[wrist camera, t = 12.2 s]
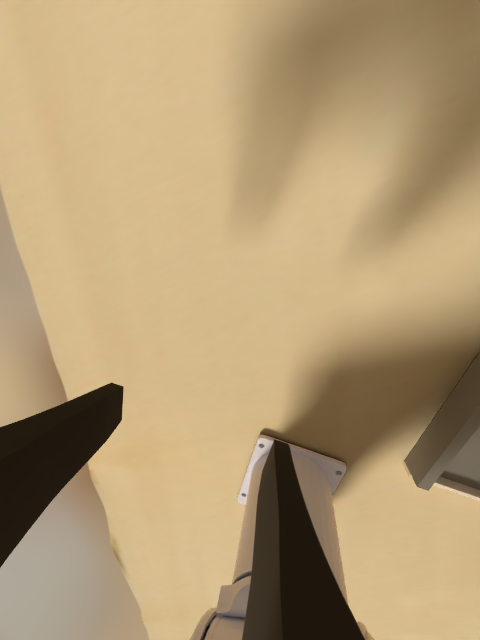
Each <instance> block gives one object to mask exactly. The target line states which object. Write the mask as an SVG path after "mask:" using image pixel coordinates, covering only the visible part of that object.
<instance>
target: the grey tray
mask: <svg viewBox="0 0 480 640" xmlns="http://www.w3.org/2000/svg"><path fill="white" fill-rule="evenodd" d="M403 465H404V467H405V470H406V472H407V474H408V476H409V477H411V478H413V480H414V482H415V484H416V486H417V487H419V488H422V489H425V490H429V489H430V488H431V487H432V485H434V486H437V487H440V488H443V489H446V490H449V491H452V492H454V493H457V494H460V495H463V496H466V497H469V498H472V499H475V500H478V501H480V352H479V354H478V355H477V356H476V358H475V359H474V361H473V362H472V364H471V365H470V367H469V368H468V370H467V371H466V372H465V374H464V375H463V377H462V378H461V380H460V381H459V383H458V384H457V385H456V387H455V388H454V390H453V391H452V393H451V394H450V396H449V397H448V399H447V400H446V401H445V403H444V404H443V406H442V407H441V409H440V410H439V412H438V413H437V414H436V416H435V417H434V419H433V420H432V422H431V423H430V425H429V426H428V428H427V429H426V430H425V432H424V433H423V435H422V436H421V438H420V439H419V441H418V442H417V443H416V445H415V446H414V448H413V449H412V451H411V452H410V454H409V455H408V456H407V458H406V459H405V461H404V462H403Z"/></svg>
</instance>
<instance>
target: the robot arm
mask: <svg viewBox="0 0 480 640" xmlns="http://www.w3.org/2000/svg"><path fill="white" fill-rule="evenodd" d="M122 404H123V386H120V385H117V384H114V383H110V384H107V385H105V386H103V387H100V388H98V389H96V390H93V391H91V392H89V393H87V394H84V395H82V396H80V397H78V398H75V399H73V400H71V401H68V402H66V403H64V404H61V405H59V406H57V407H54V408H51V409H49V410H46V411H44V412H41V413H39V414H36V415H34V416H31V417H29V418H26V419H24V420H20V421H18V422H15V423H12V424H9V425H6V426H3V427H0V567H1V566H2V565H3V563H4V562H5V560H6V559H7V558H8V556H9V555H10V554H11V552H12V551H13V550H14V548H15V547H16V546H17V545H18V543H19V542H20V541H21V539H22V538H23V537H24V535H25V534H26V533H27V531H28V530H29V529H30V528H31V526H32V525H33V524H34V522H35V521H36V520H37V519H38V517H39V516H40V515H41V513H42V512H43V511H44V510H45V508H46V507H47V506H48V505H49V504H50V502H51V501H52V500H53V498H54V497H55V496H56V495H57V494H58V493H59V492H60V491H61V489H62V488H63V487H64V486H65V485H66V484H67V483H68V482H69V481H70V479H72V478H73V476H74V475H75V474H76V473H77V472H78V471H79V470H80V469H81V468H82V467H83V466H84V465H85V463H86V462H87V461H88V460H89V459H90V458H91V457H92V456H93V455H94V454H95V453H96V452H97V451H98V450H99V448H100V447H101V446H102V445H103V444H104V443H105V442H106V441H107V439H108V438H109V437H110V435H111V434H112V433H113V431H114V430H115V429H116V427H117V426H118V424H119V423H120V422H121V420H122ZM261 444H263V445H261ZM346 470H347V468H346V464H345V463H344V462H342V461H339V460H336V459H333V458H330V457H327V456H324V455H321V454H318V453H316V452H313V451H310V450H307V449H304V448H301V447H298V446H295V445H292V444H290V443H287V442H284V441H281V440H278V439H275V438H272V437H269V436H266V435H259V436H258V439H257V442H256V445H255V447H254V450H253V453H252V456H251V459H250V462H249V465H248V468H247V471H246V474H245V476H244V479H243V482H242V485H241V488H240V491H239V494H238V497H237V501H238V502H239V503H240V504H243V505H245V506H246V507H245V512H244V518H243V524H242V530H241V535H240V541H239V547H238V553H237V558H236V564H235V570H234V576H233V581H232V585H227V586H221V590H220V595H219V600H218V605H217V607H216V608H211V609H210V610H208V611H207V612H206V613H205V614H204V615H203V616H202V618H201V620H200V621H199V623H198V625H197V626H196V629H195V631H194V633H193V635H192V637H191V639H190V640H375V639H374V638H373V637H372V636H371V634H370V633H369V632H367V629H366V627H365V626H364V624H363V623H361V622H357V621H356V620H355V618H354V616H353V614H352V612H351V610H350V608H349V606H348V600H347V594H346V587H345V580H344V574H343V567H342V561H341V554H340V547H339V541H338V534H337V528H336V521H335V514H334V508H333V501H332V495H333V493H334V491H335V490H336V488H337V486H338V484H339V483H340V481H341V479H342V478H343V476H344V474H345V472H346Z"/></svg>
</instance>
